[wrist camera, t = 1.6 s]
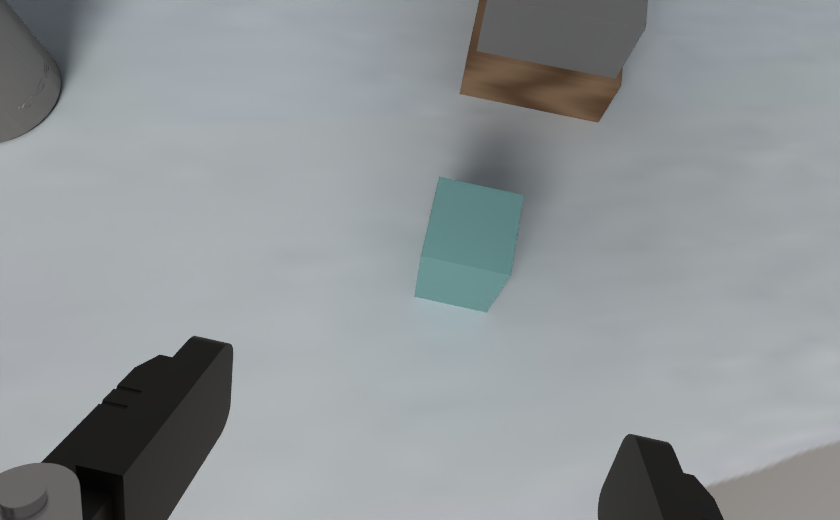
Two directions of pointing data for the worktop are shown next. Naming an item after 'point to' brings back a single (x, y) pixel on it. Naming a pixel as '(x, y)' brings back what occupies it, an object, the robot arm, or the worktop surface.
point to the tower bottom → (535, 83)
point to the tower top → (564, 32)
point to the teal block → (468, 244)
